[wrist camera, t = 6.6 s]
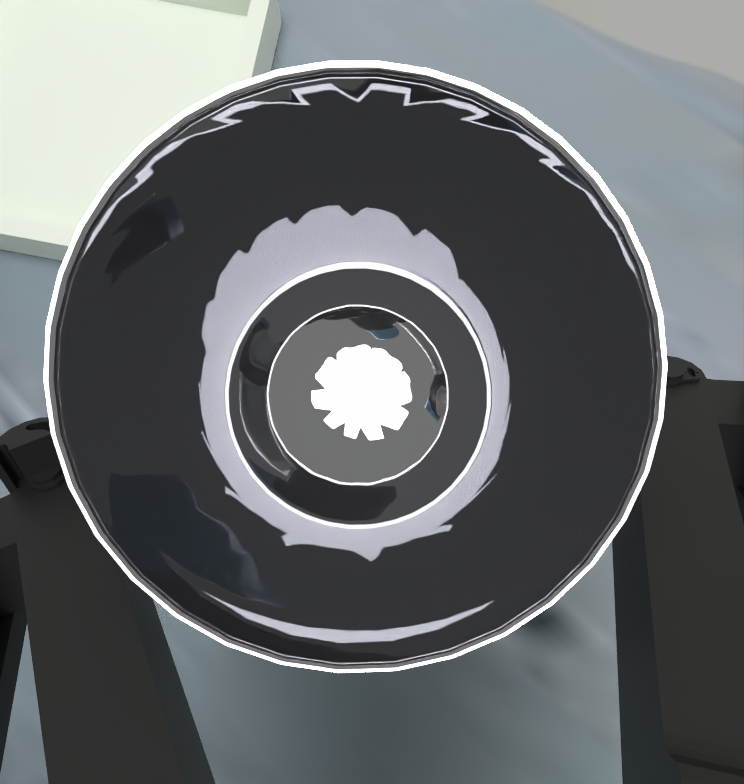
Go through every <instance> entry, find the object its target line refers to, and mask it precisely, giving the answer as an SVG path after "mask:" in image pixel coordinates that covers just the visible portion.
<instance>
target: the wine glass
mask: <svg viewBox="0 0 744 784" xmlns="http://www.w3.org/2000/svg"><path fill="white" fill-rule="evenodd" d="M667 367H668V365H667V354H666V343H665V332H664V322H663V313H662V309H661V305H660V302H659V298H658V294H657V290H656V287H655V283H654V279H653V276H652V272H651V268H650V265H649V262H648V260H647V258H646V255H645V253H644V251H643V249H642V247H641V245H640V243H639V240H638V238H637V236H636V234H635V232H634V230H633V228H632V225H631V223H630V221H629V219H628V217H627V215H626V214H625V212H624V211H623V209H622V208H621V207H620V205H619V204H618V202H617V201H616V199H615V198H614V196H613V195H612V194H611V192H610V191H609V189H608V188H607V186H606V185H605V183H604V182H603V180H602V179H601V178H600V176H599V175H598V174H597V172H596V171H595V170H594V169H593V168H592V167H591V166H590V165H589V164H588V163H587V162H586V161H585V160H584V159H583V158H582V157H581V156H580V155H579V154H578V153H577V152H576V151H575V150H574V149H573V148H572V147H571V146H570V145H569V144H568V143H567V142H566V141H565V140H564V138H562V137H561V136H560V135H558V134H557V133H556V132H554V131H553V130H552V129H550V128H549V127H548V126H546V125H545V124H544V123H542V122H541V121H540V120H538V119H537V118H535V117H534V116H533V115H531V114H530V113H529V112H527V111H526V110H525V109H523V108H522V107H520V106H518V105H516V104H514V103H512V102H510V101H508V100H506V99H505V98H503V97H501V96H499V95H497V94H495V93H493V92H491V91H489V90H487V89H485V88H483V87H481V86H479V85H477V84H475V83H471V82H468V81H465V80H462V79H459V78H456V77H453V76H450V75H447V74H444V73H441V72H438V71H435V70H432V69H428V68H422V67H416V66H409V65H403V64H396V63H390V62H383V61H325V62H319V63H313V64H307V65H301V66H295V67H289V68H283V69H277V70H274V71H271V72H268V73H265V74H263V75H260V76H257V77H254V78H251V79H248V80H245V81H242V82H239V83H236V84H233V85H230V86H228V87H226V88H224V89H222V90H220V91H219V92H217V93H215V94H213V95H211V96H209V97H207V98H205V99H204V100H202V101H200V102H198V103H196V104H194V105H192V106H191V107H189V108H187V109H185V110H183V111H182V112H181V113H179V114H178V115H177V116H175V117H174V118H173V119H172V120H170V121H169V122H168V123H166V124H165V125H164V126H162V127H161V128H160V129H159V130H157V131H156V132H155V133H153V134H152V135H151V136H149V137H148V138H147V139H146V140H144V141H143V142H142V143H141V144H140V145H139V146H138V147H137V148H136V150H135V151H134V152H133V153H132V154H131V155H130V156H129V157H128V158H127V159H126V160H125V161H124V163H123V164H122V165H121V166H120V167H119V168H118V169H117V170H116V171H115V172H114V173H113V174H112V176H111V177H110V178H109V179H108V180H107V181H106V183H105V184H104V186H103V187H102V189H101V191H100V192H99V194H98V195H97V197H96V198H95V200H94V201H93V203H92V204H91V206H90V208H89V209H88V211H87V212H86V214H85V215H84V217H83V218H82V220H81V221H80V223H79V225H78V227H77V229H76V232H75V234H74V236H73V239H72V241H71V244H70V246H69V248H68V251H67V253H66V255H65V258H64V260H63V262H62V265H61V267H60V269H59V272H58V275H57V280H56V284H55V288H54V293H53V297H52V301H51V306H50V310H49V314H48V319H47V323H46V338H45V359H44V386H45V393H46V401H47V408H48V416H49V423H50V431H51V435H52V438H53V441H54V444H55V447H56V451H57V454H58V457H59V460H60V463H61V466H62V469H63V472H64V475H65V478H66V481H67V484H68V487H69V489H70V490H71V492H72V494H73V496H74V498H75V500H76V501H77V503H78V505H79V507H80V509H81V511H82V512H83V514H84V516H85V518H86V520H87V522H88V523H89V525H90V527H91V529H92V531H93V533H94V534H95V536H96V537H97V538H98V540H99V541H100V542H101V543H102V545H103V546H104V547H105V548H106V549H107V551H108V552H109V553H110V554H111V556H112V557H113V558H114V559H115V560H116V562H117V563H118V564H119V565H120V567H121V568H122V569H123V570H124V571H125V573H126V574H127V575H128V576H129V578H130V579H131V580H132V581H133V582H135V583H136V584H137V585H138V586H139V587H140V588H142V589H143V590H144V591H145V592H146V593H148V594H149V595H150V596H151V597H152V598H154V599H155V600H156V601H157V602H158V603H159V604H161V605H162V606H163V607H164V608H165V609H167V610H168V611H169V612H170V613H171V614H172V615H174V616H175V617H176V618H178V619H180V620H182V621H183V622H185V623H187V624H189V625H190V626H192V627H194V628H196V629H198V630H199V631H201V632H203V633H205V634H206V635H208V636H210V637H212V638H213V639H215V640H217V641H219V642H220V643H222V644H224V645H226V646H229V647H232V648H235V649H237V650H240V651H243V652H246V653H249V654H252V655H255V656H258V657H261V658H264V659H266V660H269V661H272V662H275V663H278V664H281V665H288V666H295V667H301V668H308V669H315V670H322V671H328V672H335V673H351V672H380V671H398V670H403V669H407V668H412V667H416V666H421V665H425V664H430V663H434V662H439V661H443V660H447V659H452V658H455V657H457V656H460V655H462V654H464V653H467V652H469V651H471V650H474V649H476V648H478V647H481V646H483V645H485V644H488V643H490V642H492V641H495V640H497V639H500V638H502V637H504V636H506V635H508V634H509V633H511V632H512V631H514V630H515V629H517V628H518V627H520V626H521V625H523V624H524V623H526V622H527V621H529V620H530V619H532V618H533V617H535V616H536V615H538V614H539V613H541V612H542V611H544V610H546V609H547V608H549V607H550V606H552V605H553V604H554V603H555V602H556V601H557V600H558V599H559V598H560V597H561V596H562V595H563V594H565V593H566V592H567V591H568V590H569V589H570V588H571V587H572V586H573V585H574V584H575V583H576V582H577V581H578V580H579V579H580V578H581V577H582V576H583V575H584V574H585V573H586V572H587V571H588V570H589V569H590V568H591V567H593V566H594V564H595V563H596V561H597V560H598V559H599V557H600V556H601V554H602V553H603V552H604V550H605V549H606V547H607V546H608V545H609V543H610V542H611V540H612V539H613V538H614V536H615V535H616V533H617V532H618V531H619V529H620V528H621V526H622V525H623V524H624V522H625V521H626V519H627V517H628V515H629V513H630V511H631V508H632V506H633V504H634V502H635V500H636V498H637V496H638V494H639V492H640V489H641V487H642V485H643V483H644V481H645V479H646V477H647V475H648V472H649V470H650V466H651V462H652V459H653V455H654V451H655V447H656V444H657V440H658V436H659V432H660V429H661V425H662V421H663V414H664V403H665V391H666V379H667Z"/></svg>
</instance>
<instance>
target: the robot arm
mask: <svg viewBox="0 0 744 784" xmlns="http://www.w3.org/2000/svg"><path fill="white" fill-rule="evenodd" d="M667 365H668V367H667V379H666V391H665V403H664V414H663V421H662V425H661V429H660V432H659V436H658V440H657V444H656V447H655V451H654V455H653V459H652V462H651V466H650V470H649V472H648V475H647V477H646V479H645V481H644V483H643V485H642V487H641V489H640V492H639V494H638V496H637V498H636V500H635V502H634V504H633V506H632V508H631V511H630V513H629V515H628V517H627V519H626V521H625V522H624V524H623V525H622V526H621V528H620V529H619V531H618V532H617V533H616V535H615V536H614V538H613V539H612V547H613V570H614V593H615V616H616V639H617V662H618V685H619V708H620V731H621V754H622V777H623V784H744V381H728V380H712V379H707V378H706V377H705V375H704V373H703V372H702V370H701V369H699V368H698V367H697V366H695V365H694V364H692V363H691V362H688V361H685V360H683V359H680V358H677V357H671V356H667ZM0 479H1V480H2V482H3V483H4V485H5V486H6V488H7V489H8V491H9V492H10V494H9V495H7V496H5V497H3V498H1V499H0V771H1V766H2V760H3V754H4V749H5V743H6V737H7V732H8V726H9V721H10V715H11V709H12V704H13V698H14V692H15V687H16V681H17V676H18V670H19V664H20V659H21V653H22V648H23V642H24V636H25V631H26V625H27V624H28V632H29V639H30V647H31V654H32V662H33V669H34V677H35V684H36V692H37V699H38V707H39V714H40V722H41V729H42V737H43V744H44V752H45V759H46V767H47V774H48V782H49V784H215V781H214V778H213V775H212V772H211V770H210V767H209V764H208V761H207V758H206V755H205V752H204V749H203V746H202V743H201V740H200V737H199V734H198V731H197V728H196V725H195V722H194V719H193V717H192V714H191V711H190V708H189V705H188V702H187V699H186V696H185V693H184V690H183V687H182V684H181V681H180V678H179V675H178V672H177V669H176V666H175V664H174V661H173V658H172V655H171V652H170V649H169V646H168V643H167V640H166V637H165V634H164V631H163V628H162V625H161V622H160V619H159V616H158V613H157V611H156V608H155V605H154V602H153V599H152V597H151V596H150V595H149V594H148V593H146V592H145V591H144V590H143V589H142V588H140V587H139V586H138V585H137V584H136V583H135V582H133V581H132V580H131V579H130V578H129V576H128V575H127V574H126V573H125V571H124V570H123V569H122V568H121V567H120V565H119V564H118V563H117V562H116V560H115V559H114V558H113V557H112V556H111V554H110V553H109V552H108V551H107V549H106V548H105V547H104V546H103V545H102V543H101V542H100V541H99V540H98V538H97V537H96V536H95V534H94V533H93V531H92V529H91V527H90V525H89V523H88V522H87V520H86V518H85V516H84V514H83V512H82V511H81V509H80V507H79V505H78V503H77V501H76V500H75V498H74V496H73V494H72V492H71V490H70V489H69V487H68V484H67V481H66V478H65V475H64V472H63V469H62V466H61V463H60V460H59V457H58V454H57V451H56V447H55V444H54V441H53V438H52V435H51V431H50V423H49V417H46V418H38V419H34V420H30V421H27V422H24V423H22V424H20V425H18V426H16V427H13V428H11V429H10V430H8V431H7V432H6V433H4V434H3V435H2V436H0Z"/></svg>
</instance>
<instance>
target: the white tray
mask: <svg viewBox="0 0 744 784" xmlns="http://www.w3.org/2000/svg"><path fill="white" fill-rule="evenodd" d="M281 24H282V20H281V14H280V9H279V3H278V0H0V249H1V250H6V251H11V252H17V253H22V254H27V255H33V256H38V257H44V258H49V259H54V260H60V261H63V260H64V258H65V255H66V253H67V251H68V248H69V246H70V244H71V241H72V239H73V236H74V234H75V232H76V229H77V227H78V225H79V223H80V221H81V220H82V218H83V217H84V215H85V214H86V212H87V211H88V209H89V208H90V206H91V204H92V203H93V201H94V200H95V198H96V197H97V195H98V194H99V192H100V191H101V189H102V187H103V186H104V184H105V183H106V181H107V180H108V179H109V178H110V177H111V176H112V174H113V173H114V172H115V171H116V170H117V169H118V168H119V167H120V166H121V165H122V164H123V163H124V161H125V160H126V159H127V158H128V157H129V156H130V155H131V154H132V153H133V152H134V151H135V150H136V148H137V147H138V146H139V145H140V144H141V143H142V142H143V141H144V140H146V139H147V138H148V137H149V136H151V135H152V134H153V133H155V132H156V131H157V130H159V129H160V128H161V127H162V126H164V125H165V124H166V123H168V122H169V121H170V120H172V119H173V118H174V117H175V116H177V115H178V114H179V113H181V112H182V111H183V110H185V109H187V108H189V107H191V106H192V105H194V104H196V103H198V102H200V101H202V100H204V99H205V98H207V97H209V96H211V95H213V94H215V93H217V92H219V91H220V90H222V89H224V88H226V87H228V86H230V85H233V84H236V83H239V82H242V81H245V80H248V79H251V78H254V77H257V76H260V75H263V74H265V73H268V72H271V68H272V63H273V59H274V55H275V50H276V46H277V42H278V37H279V33H280V29H281Z"/></svg>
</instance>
